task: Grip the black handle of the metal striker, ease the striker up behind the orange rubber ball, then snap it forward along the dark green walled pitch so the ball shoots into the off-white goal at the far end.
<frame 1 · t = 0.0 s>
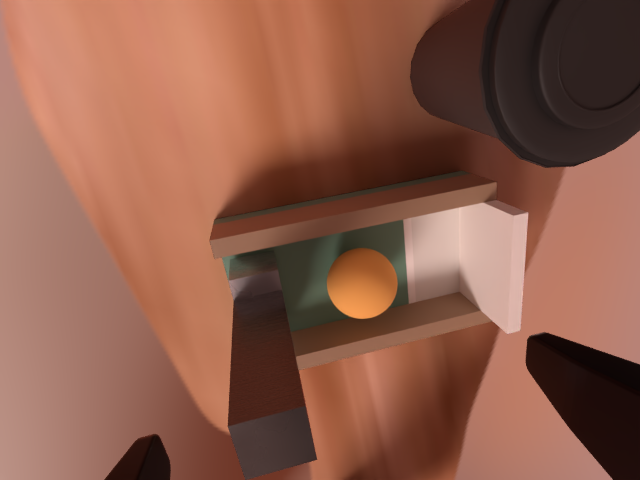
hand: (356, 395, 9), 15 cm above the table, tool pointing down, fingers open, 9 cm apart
ball: (361, 282, 21), point 3 cm above the table, touching pitch
pitch: (352, 261, 24), on the table
striker: (265, 345, 17), point 7 cm above the table, slide at 0.0 cm
coffee cup: (452, 70, 21), on the table
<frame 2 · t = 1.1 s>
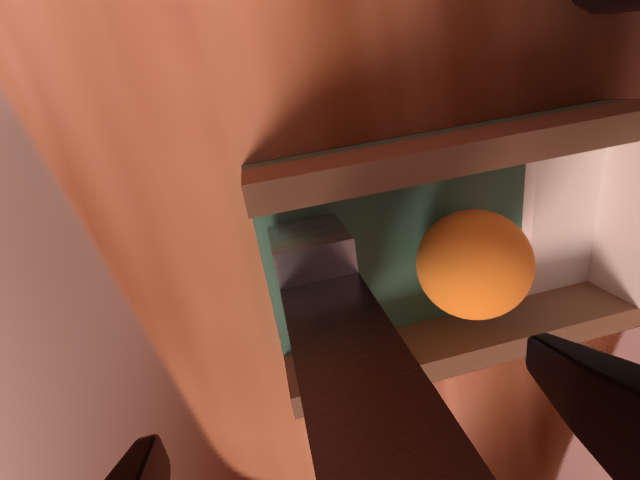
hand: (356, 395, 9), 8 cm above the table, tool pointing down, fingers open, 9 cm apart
ball: (472, 264, 14), point 3 cm above the table, touching pitch
pitch: (439, 235, 16), on the table
striker: (346, 369, 10), point 7 cm above the table, slide at 0.0 cm
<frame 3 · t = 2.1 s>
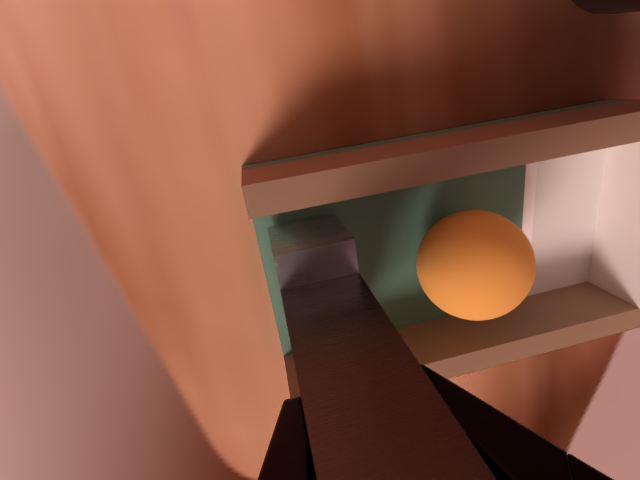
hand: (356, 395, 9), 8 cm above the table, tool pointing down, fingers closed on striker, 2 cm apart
ball: (472, 264, 14), point 3 cm above the table, touching pitch
pitch: (439, 235, 16), on the table
striker: (346, 370, 10), point 7 cm above the table, slide at 0.0 cm, touching gripper
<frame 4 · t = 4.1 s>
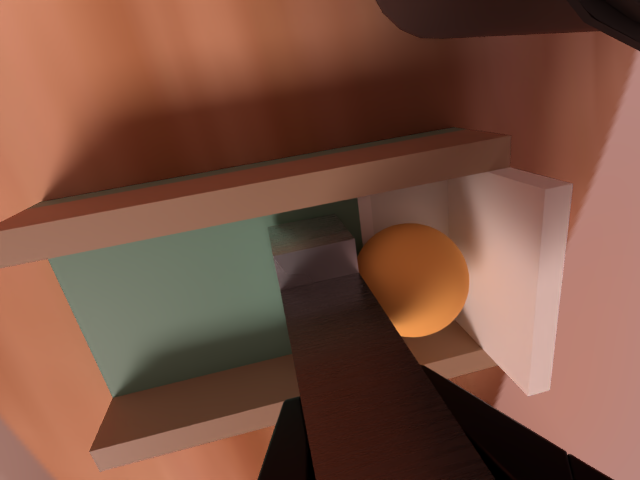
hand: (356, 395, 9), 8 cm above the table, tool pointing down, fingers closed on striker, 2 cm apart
ball: (409, 279, 13), point 3 cm above the table, tilted 128°, touching pitch
pitch: (282, 269, 16), on the table
striker: (346, 370, 10), point 7 cm above the table, slide at 7.0 cm, touching gripper
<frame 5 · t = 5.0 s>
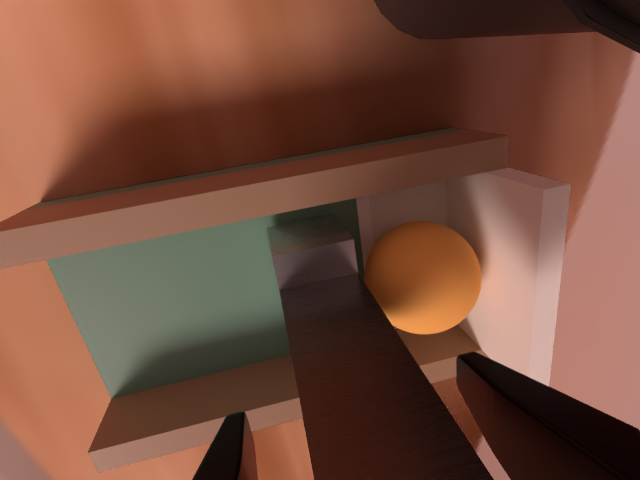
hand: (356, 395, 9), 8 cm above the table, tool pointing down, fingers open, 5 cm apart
ball: (420, 276, 13), point 3 cm above the table, tilted 142°, touching pitch
pitch: (281, 270, 16), on the table
striker: (345, 370, 10), point 7 cm above the table, slide at 7.0 cm
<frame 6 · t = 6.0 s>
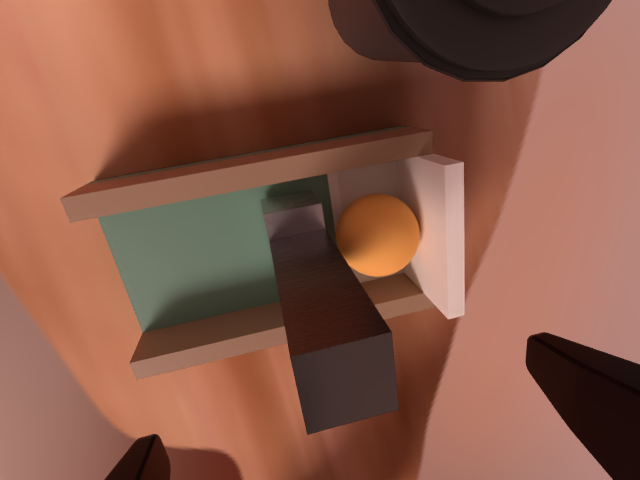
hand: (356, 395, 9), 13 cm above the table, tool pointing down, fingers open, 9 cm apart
ball: (377, 235, 18), point 3 cm above the table, tilted 146°, touching pitch
pitch: (272, 235, 20), on the table
striker: (312, 287, 14), point 7 cm above the table, slide at 7.0 cm
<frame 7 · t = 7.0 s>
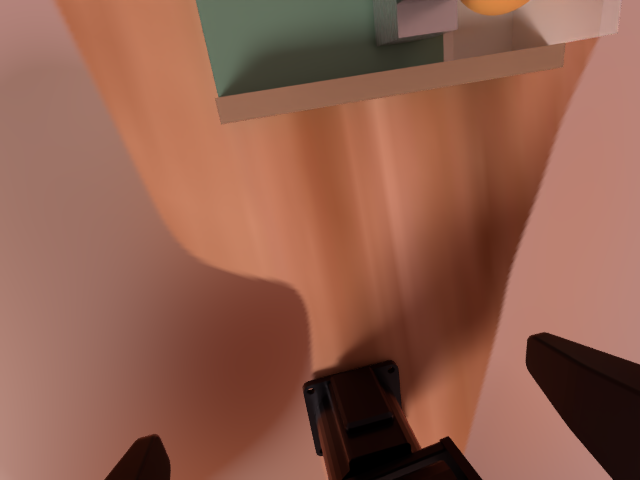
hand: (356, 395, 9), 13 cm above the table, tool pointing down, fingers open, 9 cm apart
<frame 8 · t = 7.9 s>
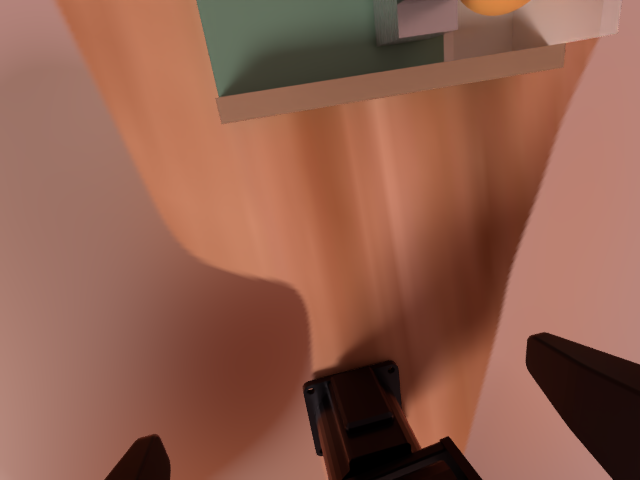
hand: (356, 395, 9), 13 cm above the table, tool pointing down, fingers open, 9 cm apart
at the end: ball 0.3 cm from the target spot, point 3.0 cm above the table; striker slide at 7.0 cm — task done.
